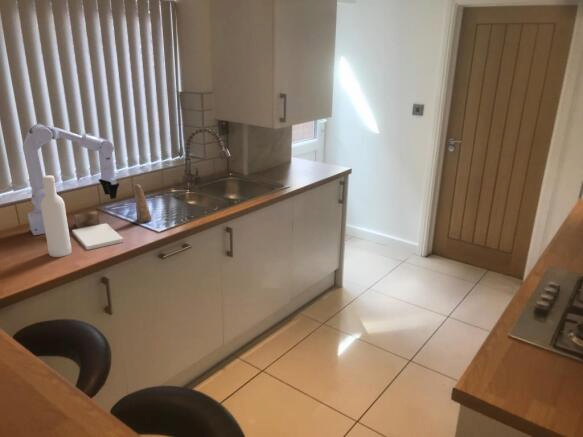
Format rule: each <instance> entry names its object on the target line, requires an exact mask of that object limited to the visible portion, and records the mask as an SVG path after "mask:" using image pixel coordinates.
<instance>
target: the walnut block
mask: <svg viewBox="0 0 583 437" xmlns="http://www.w3.org/2000/svg"><path fill="white" fill-rule="evenodd" d="M73 216H74V222H75V227H76V228H77V229H80V228H85V227H90V226H95V225H100V224H101V222H100V215H99V212H97V211H96V210H95V211H89V212H84V213H78V214H74V215H73Z"/></svg>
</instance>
